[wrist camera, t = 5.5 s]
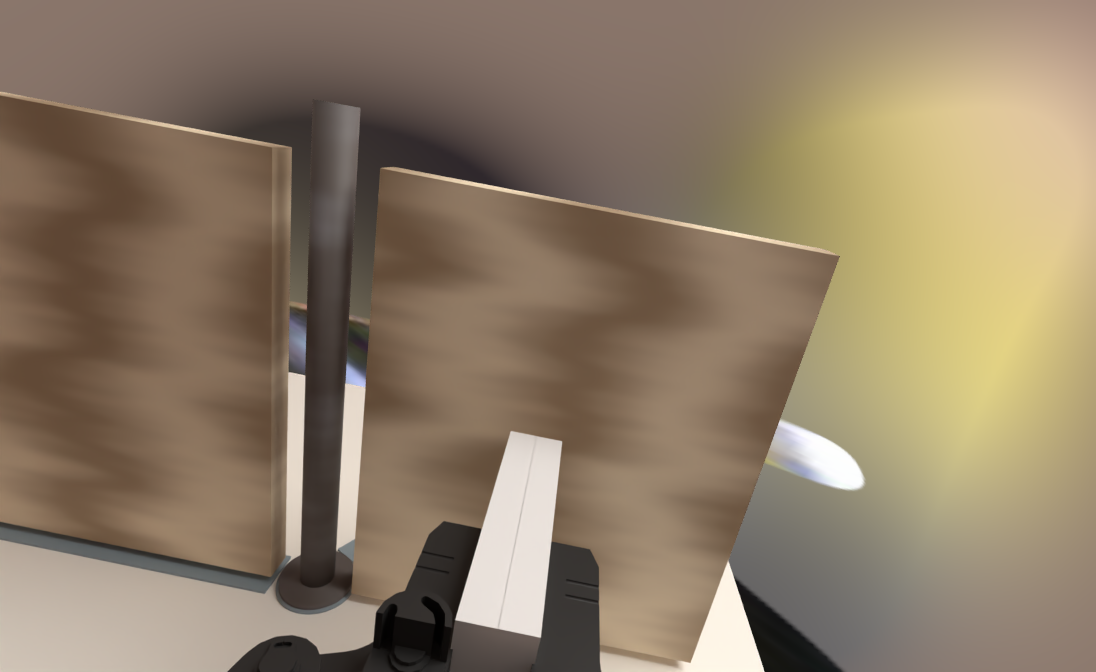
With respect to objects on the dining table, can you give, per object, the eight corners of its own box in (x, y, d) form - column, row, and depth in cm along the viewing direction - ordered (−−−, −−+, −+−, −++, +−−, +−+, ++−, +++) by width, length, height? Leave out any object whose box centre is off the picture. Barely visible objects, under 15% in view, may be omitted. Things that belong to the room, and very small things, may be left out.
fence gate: (351, 593, 20) (380, 168, 15) (362, 573, 21) (393, 166, 16) (690, 663, 19) (839, 256, 14) (685, 639, 20) (824, 249, 15)
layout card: (-413, 697, 14) (-418, 689, 13) (207, 358, 35) (207, 354, 35) (855, 967, 13) (860, 961, 13) (692, 455, 35) (693, 451, 35)
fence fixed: (-83, 537, 19) (-230, -3, 14) (-7, 493, 22) (-104, 19, 16) (335, 623, 19) (364, 109, 13) (364, 568, 22) (400, 115, 16)
